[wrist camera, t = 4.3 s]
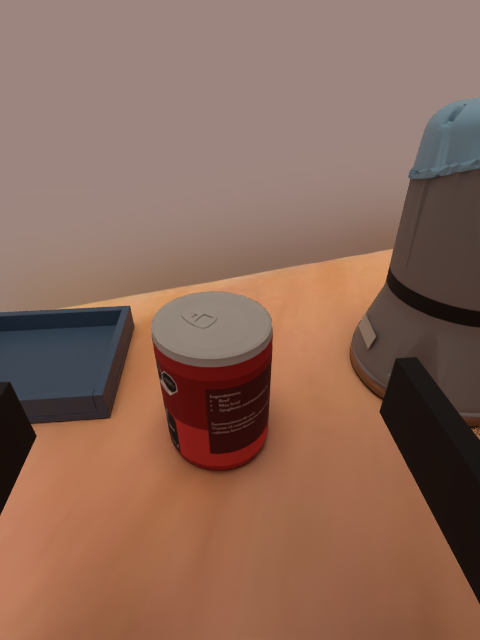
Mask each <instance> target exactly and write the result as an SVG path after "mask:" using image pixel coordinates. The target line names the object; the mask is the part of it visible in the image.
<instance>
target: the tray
mask: <svg viewBox="0 0 480 640" xmlns="http://www.w3.org/2000/svg"><path fill="white" fill-rule="evenodd" d="M133 329H134V323H133V318H132V313H131V308H130V306H117V307H97V308H78V309H59V310H40V311H20V312H1V313H0V382H11V384H12V386H13V388H14V391H15V393H16V395H17V397H18V399H19V401H20V403H21V405H22V407H23V409H24V411H25V413H26V415H27V417H28V419H29V421H30V423H44V422H58V421H72V420H86V419H101V418H110V414H111V410H112V407H113V403H114V399H115V396H116V392H117V388H118V384H119V381H120V377H121V373H122V370H123V366H124V362H125V358H126V355H127V351H128V347H129V344H130V340H131V336H132V332H133Z"/></svg>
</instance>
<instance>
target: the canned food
mask: <svg viewBox="0 0 480 640" xmlns="http://www.w3.org/2000/svg"><path fill="white" fill-rule="evenodd" d="M151 329H152V340H153V345H154V353H155V358H156V363H157V368H158V374H159V379H160V384H161V390H162V395H163V400H164V406H165V411H166V416H167V421H168V427H169V432H170V436H171V440H172V442H173V443H174V445H175V447H176V448H177V450H178V451H179V452H180V453H181V455H182V456H183V457H184V458H185V459H186V460H188V461H189V462H191V463H192V464H194V465H196V466H199V467H201V468H205V469H209V470H227V469H232V468H235V467H239V466H241V465H243V464H245V463H247V462H248V461H249V460H251V459H252V458H253V457H254V456H255V455H256V454H257V453H258V451H259V450H260V448H261V446H262V445H263V443H264V441H265V439H266V435H267V431H268V415H269V397H270V380H271V363H272V338H273V329H272V319H271V317H270V314H269V313H268V312H267V310H266V309H265V308H264V307H263V306H262V305H260V304H259V303H258V302H256V301H254V300H252V299H250V298H247V297H245V296H242V295H238V294H234V293H228V292H213V291H212V292H200V293H194V294H189V295H186V296H182V297H179V298H177V299H175V300H172V301H171V302H169V303H167V304H166V305H164V306H163V307H162V308H161V309H159V311H158V312H157V313H156V314H155V316H154V318H153V321H152V328H151Z"/></svg>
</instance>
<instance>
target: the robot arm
mask: <svg viewBox="0 0 480 640" xmlns="http://www.w3.org/2000/svg"><path fill="white" fill-rule="evenodd" d="M409 178H410V183H409V187H408V191H407V195H406V200H405V204H404V208H403V213H402V216H401V221H400V225H399V229H398V233H397V237H396V241H395V246H394V250H393V254H392V258H391V262H390V267H389V271H388V275H387V279H386V282H385V285H384V287H383V288H382V290H381V291H380V293H379V294H378V296H377V297H376V298H375V300H374V301H373V303H372V304H371V306H370V308H369V309H368V311H367V312H366V314H365V315H364V316H363V318H362V320H361V321H360V322H359V324H358V326H357V328H356V330H355V332H354V334H353V339H352V344H351V349H350V356H351V361H352V365H353V367H354V369H355V371H356V373H357V374H358V376H359V377H360V378H361V380H362V381H363V382H364V383H365V384H366V385H367V386H368V387H369V388H370V389H371V390H372V391H373V392H374V393H376V394H377V395H378V396H380V397H381V398H382V399H383V402H382V405H381V409H380V414H381V416H382V418H383V420H384V422H385V424H386V425H387V427H388V429H389V431H390V433H391V435H392V437H393V439H394V441H395V443H396V445H397V446H398V448H399V450H400V452H401V454H402V456H403V458H404V460H405V462H406V464H407V466H408V468H409V469H410V471H411V473H412V475H413V477H414V479H415V481H416V483H417V485H418V487H419V489H420V490H421V492H422V494H423V496H424V498H425V500H426V502H427V504H428V506H429V508H430V510H431V512H432V513H433V515H434V517H435V519H436V521H437V523H438V525H439V527H440V529H441V531H442V533H443V535H444V536H445V538H446V540H447V542H448V544H449V546H450V548H451V550H452V552H453V554H454V556H455V557H456V559H457V561H458V563H459V565H460V567H461V569H462V571H463V573H464V575H465V577H466V579H467V580H468V582H469V584H470V586H471V588H472V590H473V592H474V594H475V596H476V598H477V600H478V602H479V603H480V440H479V439H478V438H477V436H476V435H475V434H474V432H473V431H472V430H471V428H470V427H469V426H480V97H478V98H472V99H466V100H461V101H457V102H454V103H451V104H448V105H446V106H444V107H443V108H441V109H440V110H438V111H437V112H436V113H435V114H434V115H433V116H432V118H431V119H430V120H429V122H428V123H427V126H426V128H425V130H424V133H423V137H422V140H421V144H420V147H419V150H418V153H417V156H416V160H415V163H414V166H413V168H412V169H411V170H410V172H409ZM35 438H36V434H35V432H34V430H33V428H32V426H31V424H30V421H29V419H28V417H27V415H26V413H25V411H24V409H23V407H22V405H21V403H20V401H19V399H18V397H17V395H16V393H15V391H14V388H13V386H12V384H11V382H0V515H1V513H2V510H3V508H4V506H5V504H6V502H7V499H8V497H9V495H10V493H11V491H12V489H13V486H14V484H15V482H16V480H17V478H18V476H19V473H20V471H21V469H22V467H23V465H24V462H25V460H26V458H27V456H28V454H29V452H30V449H31V447H32V445H33V443H34V441H35Z"/></svg>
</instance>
